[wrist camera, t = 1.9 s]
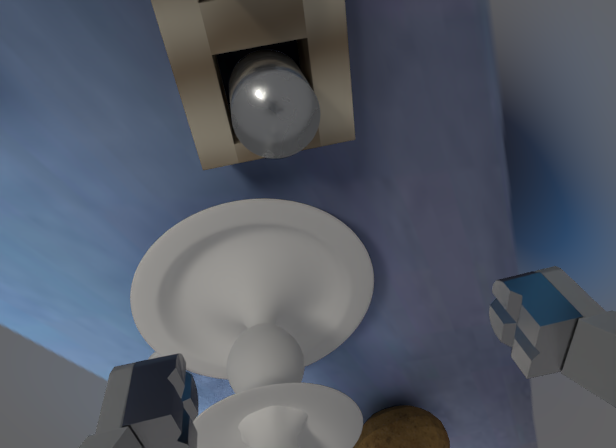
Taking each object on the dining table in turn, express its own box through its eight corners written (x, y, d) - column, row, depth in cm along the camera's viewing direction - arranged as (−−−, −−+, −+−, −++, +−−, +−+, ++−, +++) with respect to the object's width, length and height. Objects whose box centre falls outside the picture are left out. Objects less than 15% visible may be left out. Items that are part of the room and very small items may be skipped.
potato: (317, 429, 56) (331, 496, 49) (409, 374, 53) (437, 437, 46) (358, 454, 61) (375, 517, 54) (444, 405, 58) (473, 465, 51)
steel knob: (220, 57, 25) (221, 81, 21) (298, 42, 25) (314, 64, 21) (238, 131, 28) (242, 165, 24) (308, 117, 28) (324, 149, 24)
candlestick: (44, 293, 37) (-233, 888, 14) (287, 129, 33) (461, 600, 10) (202, 398, 48) (193, 820, 25) (398, 287, 44) (598, 674, 21)
